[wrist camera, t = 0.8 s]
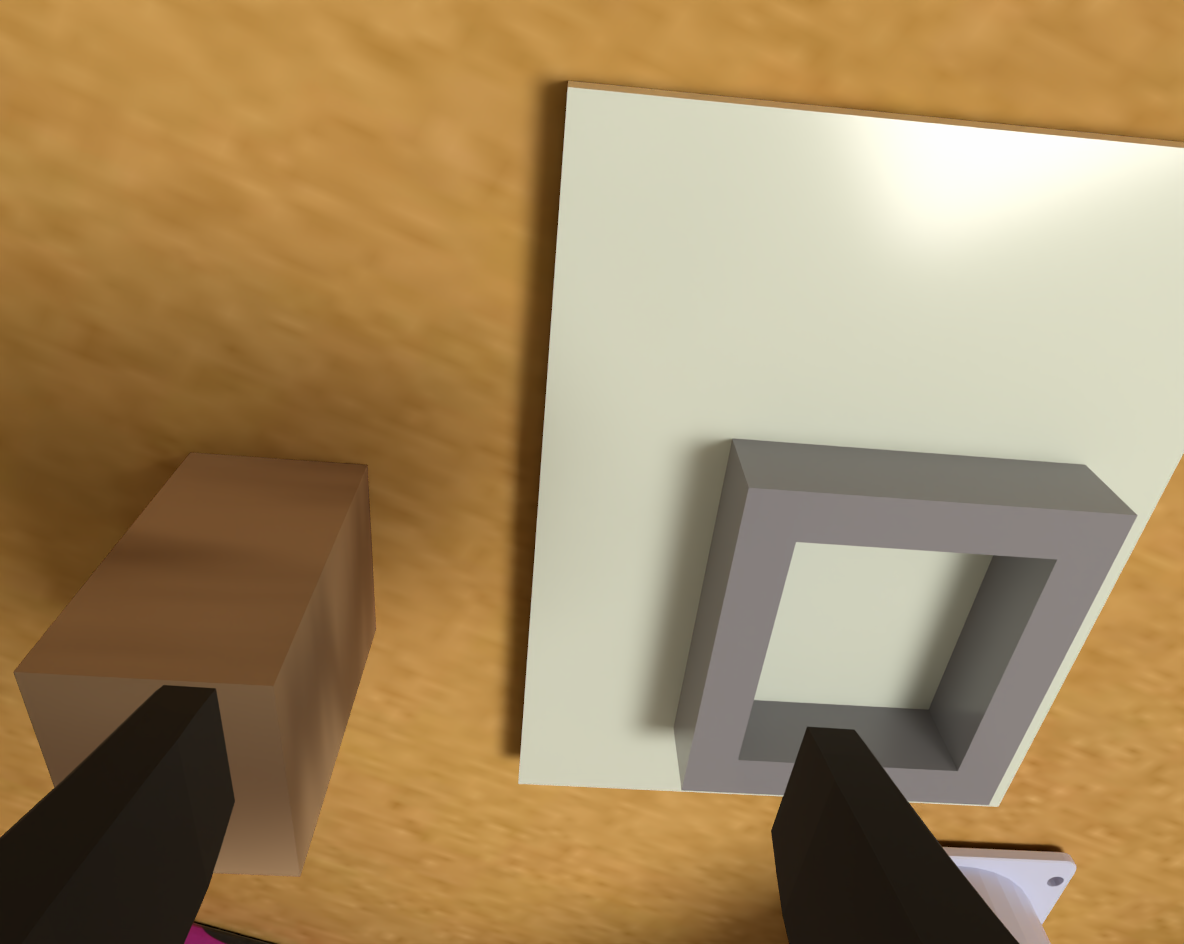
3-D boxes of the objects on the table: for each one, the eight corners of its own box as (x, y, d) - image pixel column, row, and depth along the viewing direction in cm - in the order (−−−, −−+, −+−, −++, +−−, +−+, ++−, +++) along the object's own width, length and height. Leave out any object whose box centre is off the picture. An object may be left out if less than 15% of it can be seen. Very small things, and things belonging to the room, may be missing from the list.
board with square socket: (984, 778, 25) (1030, 870, 23) (520, 755, 24) (513, 847, 22) (1294, 153, 16) (1431, 187, 13) (567, 80, 15) (566, 102, 13)
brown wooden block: (376, 628, 22) (299, 876, 16) (220, 619, 22) (83, 867, 16) (367, 464, 19) (273, 686, 13) (190, 451, 19) (13, 672, 13)
